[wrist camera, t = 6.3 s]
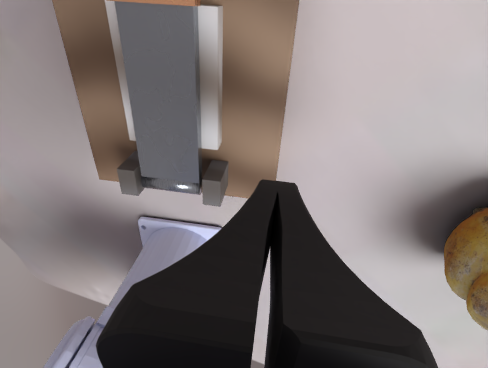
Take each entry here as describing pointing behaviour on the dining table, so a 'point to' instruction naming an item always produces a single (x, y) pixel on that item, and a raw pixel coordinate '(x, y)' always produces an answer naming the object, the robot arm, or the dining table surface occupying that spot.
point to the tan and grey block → (164, 89)
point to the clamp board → (211, 90)
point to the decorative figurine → (470, 264)
